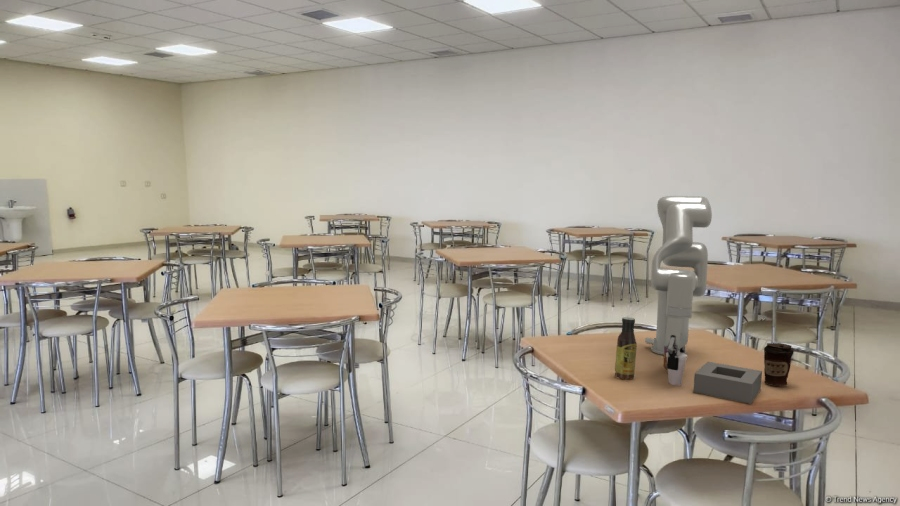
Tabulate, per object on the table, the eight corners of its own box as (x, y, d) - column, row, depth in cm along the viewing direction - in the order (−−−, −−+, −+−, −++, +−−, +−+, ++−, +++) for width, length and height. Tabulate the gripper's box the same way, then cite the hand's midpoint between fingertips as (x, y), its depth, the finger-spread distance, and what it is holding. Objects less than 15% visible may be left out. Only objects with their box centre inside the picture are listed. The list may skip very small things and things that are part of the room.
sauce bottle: (624, 381, 193) (627, 321, 191) (610, 375, 198) (613, 317, 196) (639, 378, 196) (642, 319, 194) (625, 373, 201) (628, 315, 199)
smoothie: (687, 387, 188) (689, 344, 186) (666, 385, 189) (668, 342, 187) (683, 381, 194) (686, 339, 192) (663, 379, 195) (665, 337, 194)
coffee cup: (790, 390, 186) (793, 349, 185) (760, 385, 190) (763, 345, 189) (791, 383, 193) (794, 343, 192) (762, 378, 198) (765, 340, 196)
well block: (693, 392, 183) (694, 373, 183) (706, 379, 196) (707, 361, 195) (750, 404, 174) (752, 384, 173) (760, 389, 187) (761, 370, 186)
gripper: (674, 306, 198) (671, 358, 200) (658, 314, 184) (655, 371, 186) (698, 309, 193) (695, 362, 195) (683, 318, 180) (680, 375, 182)
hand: (675, 366), depth 191 cm, fingers closed on smoothie, 6 cm apart
